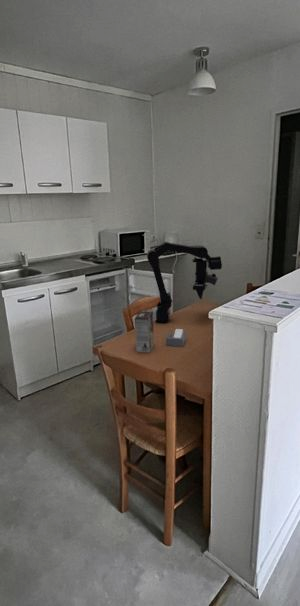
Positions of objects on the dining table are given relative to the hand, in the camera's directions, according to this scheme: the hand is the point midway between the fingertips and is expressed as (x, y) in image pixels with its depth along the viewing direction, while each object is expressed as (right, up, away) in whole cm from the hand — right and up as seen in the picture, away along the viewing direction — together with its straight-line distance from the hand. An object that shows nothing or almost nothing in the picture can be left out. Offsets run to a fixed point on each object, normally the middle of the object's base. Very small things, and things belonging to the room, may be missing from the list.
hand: (200, 298), depth 191 cm
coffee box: (-29, -23, -29) cm, 47 cm away
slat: (-14, -20, -20) cm, 32 cm away
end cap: (-15, -20, -24) cm, 35 cm away
